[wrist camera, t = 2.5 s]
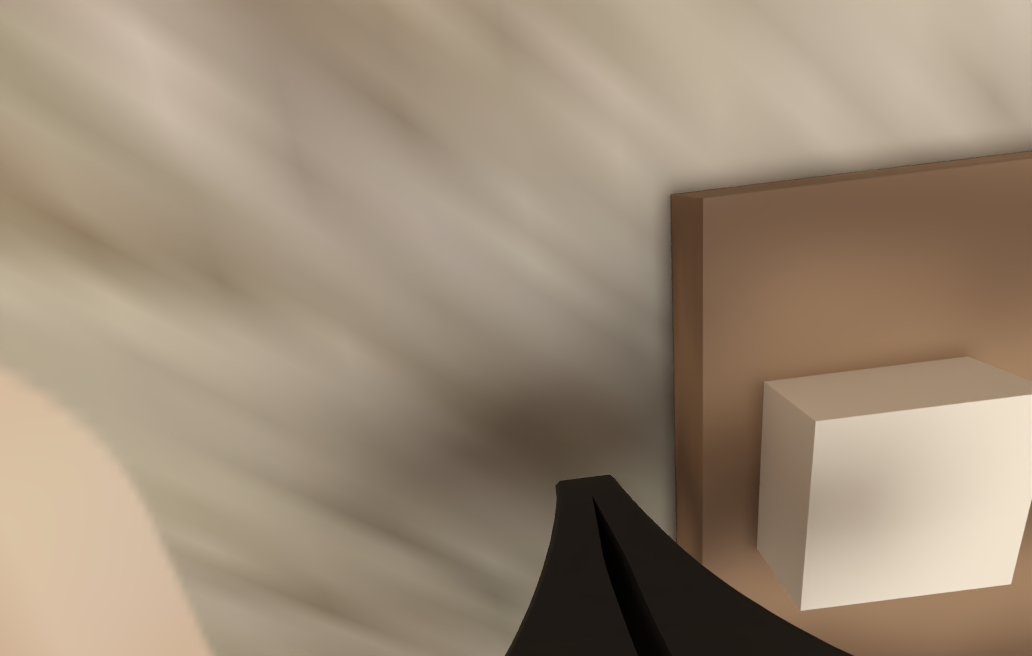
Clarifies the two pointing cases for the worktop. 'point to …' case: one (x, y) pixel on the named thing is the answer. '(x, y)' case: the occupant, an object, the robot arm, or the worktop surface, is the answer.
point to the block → (894, 481)
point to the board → (844, 356)
